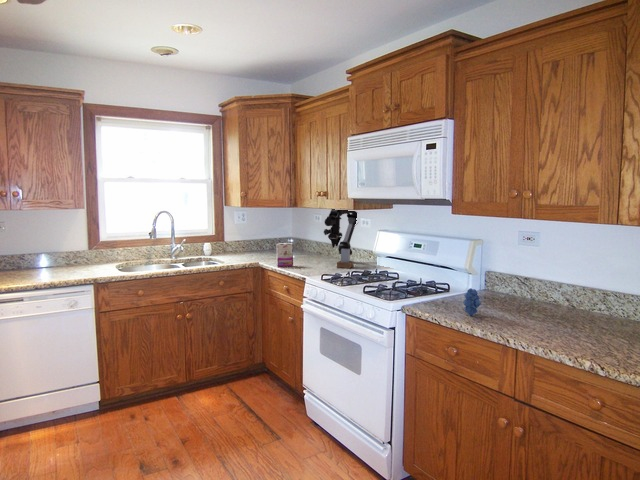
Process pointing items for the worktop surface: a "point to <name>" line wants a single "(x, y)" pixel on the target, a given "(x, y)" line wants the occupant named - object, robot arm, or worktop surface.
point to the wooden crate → (345, 265)
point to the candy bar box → (285, 255)
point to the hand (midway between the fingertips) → (334, 246)
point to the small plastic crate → (345, 255)
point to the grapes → (471, 301)
